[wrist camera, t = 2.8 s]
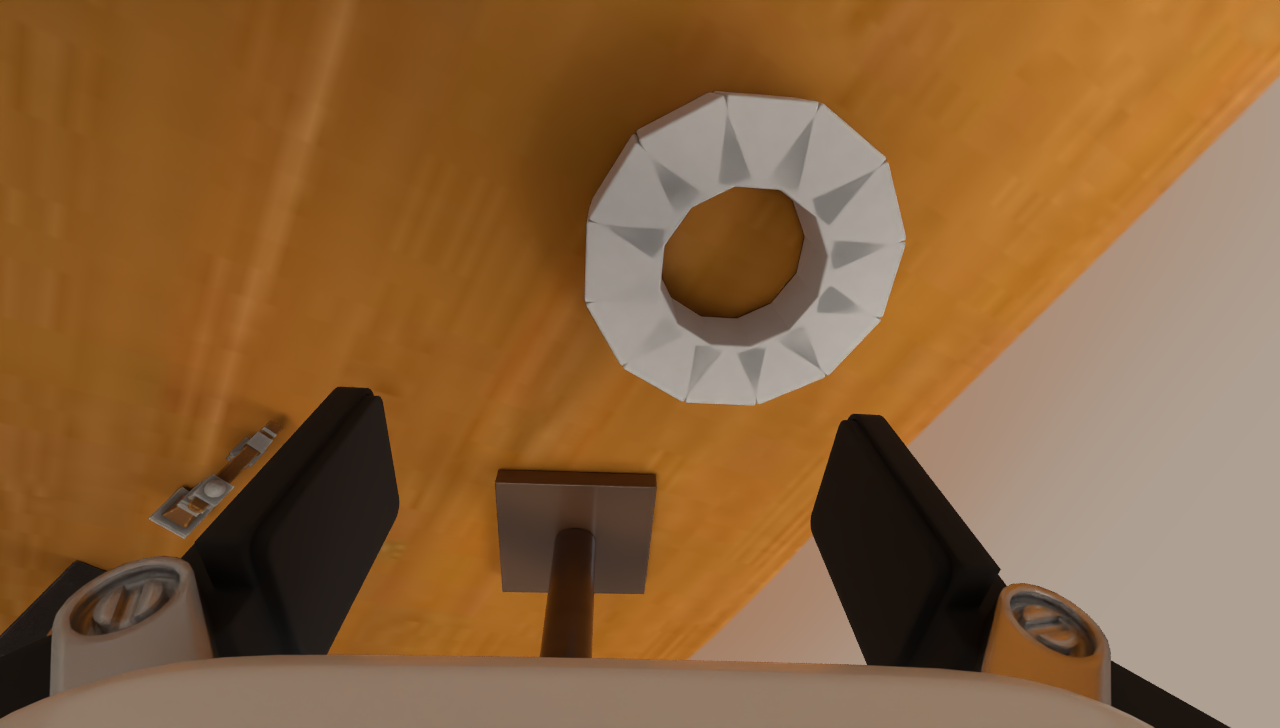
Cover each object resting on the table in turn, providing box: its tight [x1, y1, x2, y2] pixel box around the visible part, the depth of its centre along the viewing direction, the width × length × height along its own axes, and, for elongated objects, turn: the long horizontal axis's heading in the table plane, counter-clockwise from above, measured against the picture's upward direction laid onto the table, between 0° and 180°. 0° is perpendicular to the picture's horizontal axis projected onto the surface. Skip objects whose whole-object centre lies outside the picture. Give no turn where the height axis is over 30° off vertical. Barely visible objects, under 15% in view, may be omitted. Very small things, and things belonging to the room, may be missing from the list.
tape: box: [584, 91, 906, 405], centre depth 21 cm, size 12×12×3 cm
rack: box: [495, 470, 657, 658], centre depth 25 cm, size 8×8×11 cm
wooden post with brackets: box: [148, 421, 283, 539], centre depth 25 cm, size 2×8×4 cm, turn 129°
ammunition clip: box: [0, 561, 106, 657], centre depth 26 cm, size 11×2×12 cm, turn 51°
